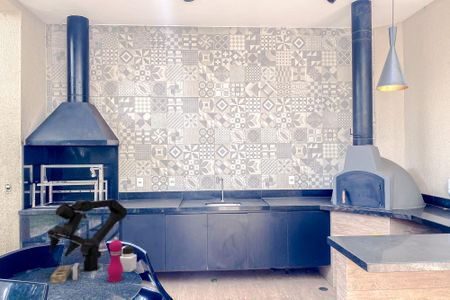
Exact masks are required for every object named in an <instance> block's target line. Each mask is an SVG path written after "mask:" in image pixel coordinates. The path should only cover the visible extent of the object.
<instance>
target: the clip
mask: <svg viewBox="0 0 450 300" xmlns="http://www.w3.org/2000/svg"><path fill="white" fill-rule="evenodd" d="M80 267H81V266H80V262H76V263H74V265H73V266H72V280H73V281H74V280H78V279H79V277H80Z"/></svg>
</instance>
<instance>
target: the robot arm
mask: <svg viewBox="0 0 450 300" xmlns="http://www.w3.org/2000/svg"><path fill="white" fill-rule="evenodd" d="M98 208H99V209H102V208H108V210H109V211H110V212H109V217H108V218H107V219H106V220H105V222H104V224H103V225H101V227H100V228H99V229H98V231H96V233H95V234H94V235H93V237H86V238H83V237H81V236H80V235H76V232H77V231H79V230H80V227H79V226H80V224H81V222H82V220H83V219H84V220H86V219H87V217H88V216H87V214H86V213H87V212H91V211H93V209H94V210H95V209H98ZM55 215H56V216H57V217H59V218H61V219H64V220H66V221H67V222H64V223H63V224H61V225H60V224H55V226H54V229H52V228H51V229H49V230H48V231H47V233H46V234H47V235H48V238H49V239H50V245H49V251H48V252H49V253H52V252H53V251H54V250H55V248H56V247H57V245H58V244H59V243H60V239H65V240H68V241H69V245H68V247H67V249H66V251H65V253H64V257H65V258H67V257H68V256H69V255H70V254H72V253H73V251H75V250H76V249H77V248H79V247H80V248H79V251H80V253H81V254H82V255H81V256H82V258H84V260H83V271H84V272H88V271H98V270H99V267H100V266H99V258H101V257H102V254H103V253H102V252H101V251H100V250H99V249H100V246H101V242H102V241H103V240H104V239H105V237H106V236H107V235H108V234H109V232H111V230H113V228H114V226H115V225H116V224H117V223H119V222H121V221H122V220H123V219H124V218H126V216H127V215H128V210H127V208H126V207H125V206H123V205H122V204H121V203H119V202H118V201H117V200H116V199H114V198H107V199H100V200H81V199H78V200H76V201H75V202H74V203H72V204H70V205H69V204H68V203H67V202H62V204H61V205H59V206H58V207H57V208H56V210H55Z"/></svg>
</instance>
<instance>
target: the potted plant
mask: <svg viewBox="0 0 450 300" xmlns="http://www.w3.org/2000/svg"><path fill="white" fill-rule="evenodd" d="M134 249H135V248H134V246H132V245H124V246H122V248H121V255H120V261H121V264H122V266H123V272H124V273H131V272H133V271H134V270H136V269H137V257H138V256H137V254H134V251H135V250H134ZM123 272H122V273H123Z"/></svg>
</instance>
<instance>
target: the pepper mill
mask: <svg viewBox="0 0 450 300" xmlns="http://www.w3.org/2000/svg"><path fill="white" fill-rule="evenodd" d="M118 239H119V238H118V237H116V236H115V237H114V238H113V240H112V241H111V242H110V243H109V245H108V248H109V255H110V261H109V264H108V266H107V268H106V269H107V270H106V272H107V274H108V279H107V281H108V282H110V283H116V282H120V281H122V280H123V275H122V273H123V266H122V264H121V261H120V256H121V255H122V247H123V243H122V242H121V241H120V240H118Z"/></svg>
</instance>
